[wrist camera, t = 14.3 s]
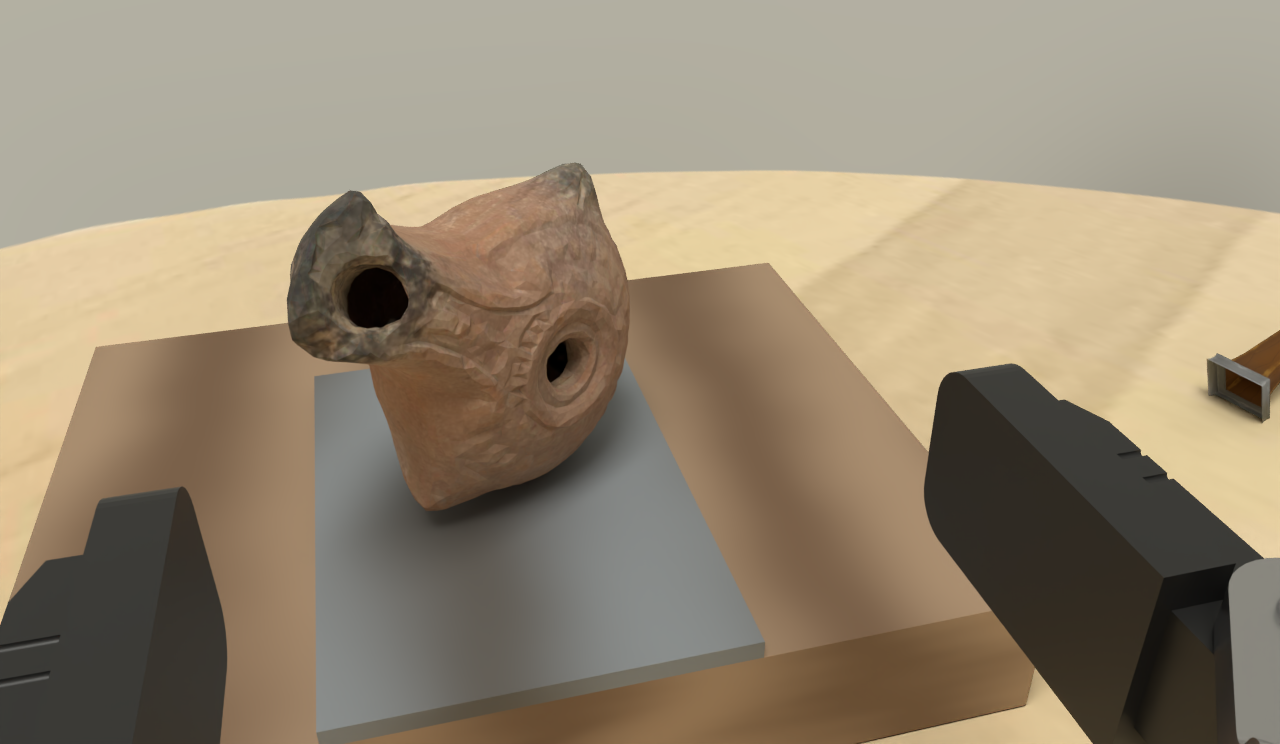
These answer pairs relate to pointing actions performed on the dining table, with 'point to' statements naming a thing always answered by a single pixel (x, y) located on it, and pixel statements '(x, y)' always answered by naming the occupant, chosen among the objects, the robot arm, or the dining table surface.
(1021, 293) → the dining table surface
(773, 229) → the dining table surface
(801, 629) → the wooden block
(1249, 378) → the wooden blunderbuss cannon
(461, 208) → the oil lamp
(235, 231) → the dining table surface
